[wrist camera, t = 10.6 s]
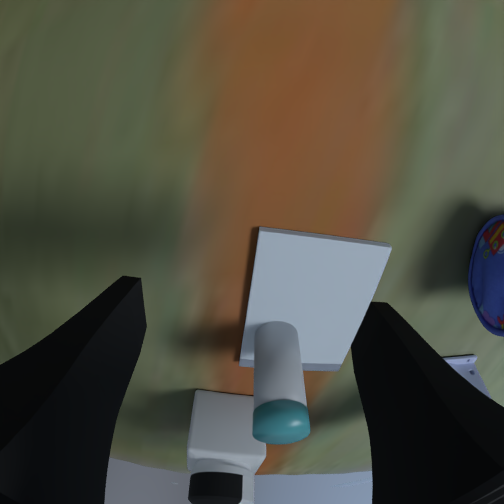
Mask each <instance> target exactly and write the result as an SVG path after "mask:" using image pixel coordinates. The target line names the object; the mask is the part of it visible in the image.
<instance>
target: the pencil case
mask: <svg viewBox="0 0 504 504" xmlns="http://www.w3.org/2000/svg"><path fill="white" fill-rule="evenodd" d="M468 287H469V294H470V298H471V302H472V305H473V308H474V310H475V312H476V314H477V316H478V318H479V320H480V322H481V323H482V324H483V326H484V327H485V328H486V329H487V330H488V331H490V332H491V333H493V334H495V335H497V336H503V337H504V214H503V215H498V216H495V217H493V218H491V219H490V220H489V221H488V222H487V223H486V224H485V225H484V226H483V228H482V229H481V230H480V231H479V233H478V235H477V237H476V240H475V244H474V247H473V251H472V256H471V260H470V265H469V272H468Z"/></svg>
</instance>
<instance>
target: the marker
mask: <svg viewBox="0 0 504 504" xmlns="http://www.w3.org/2000/svg"><path fill="white" fill-rule="evenodd" d="M309 433H310V423H309V414H308V408H307V403H306V395H305V386H304V378H303V370H302V362H301V354H300V346H299V339H298V332H297V330H296V328H295V327H294V326H293V325H291V324H289V323H287V322H283V321H272V322H268V323H265V324H263V325H261V326H260V327H259V328H258V329H257V330H256V332H255V335H254V411H253V426H252V435H253V437H254V438H255V439H256V440H258V441H260V442H263V443H267V444H288V443H293V442H297V441H300V440H302V439H304V438H305V437H307V436H308V435H309Z"/></svg>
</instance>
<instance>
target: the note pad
mask: <svg viewBox="0 0 504 504" xmlns="http://www.w3.org/2000/svg"><path fill="white" fill-rule="evenodd" d="M391 249H392V247H391V246H390V244H389V243H383V242H376V241H368V240H361V239H354V238H347V237H339V236H332V235H324V234H316V233H308V232H300V231H292V230H284V229H276V228H268V227H259V234H258V241H257V247H256V254H255V261H254V267H253V274H252V280H251V287H250V294H249V300H248V307H247V314H246V320H245V327H244V333H243V340H242V346H241V353H240V359H239V366H243V367H254V335H255V332H256V330H257V329H258V328H259V327H260V326H261V325H263V324H265V323H268V322H272V321H283V322H287V323H289V324H291V325H293V326H294V327H295V328H296V330H297V332H298V339H299V346H300V354H301V362H302V370H307V371H338V370H339V369H340V367H341V365H342V362H343V360H344V358H345V356H346V354H347V352H348V350H349V348H350V346H351V344H352V342H353V340H354V337H355V335H356V333H357V331H358V329H359V327H360V325H361V322H362V320H363V318H364V316H365V313H366V311H367V309H368V307H369V304H370V302H371V300H372V298H373V295H374V293H375V290H376V288H377V286H378V283H379V281H380V278H381V276H382V273H383V271H384V268H385V265H386V263H387V260H388V258H389V255H390V252H391Z"/></svg>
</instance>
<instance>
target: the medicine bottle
mask: <svg viewBox="0 0 504 504" xmlns="http://www.w3.org/2000/svg"><path fill="white" fill-rule="evenodd" d="M253 411H254V396H247V395H238V394H229V393H221V392H213V391H206V390H199V389H198V390H196V392H195V396H194V402H193V409H192V415H191V422H190V429H189V436H188V443H187V468H188V470H189V471H191V478H190V486H189V496H188V499H189V501H190V502H191V503H192V504H254V474H255V473H256V471H257V470H258V468H259V467H260V465H261V464H262V462H263V461H264V459H265V457H266V443H263V442H260V441H258V440H256V439H255V438H254V437H253V435H252V426H253Z"/></svg>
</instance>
